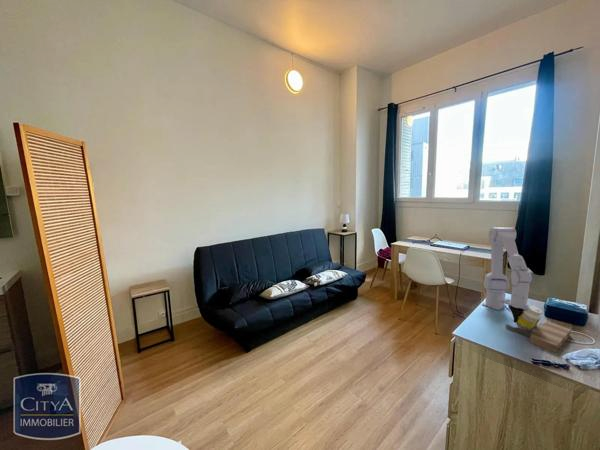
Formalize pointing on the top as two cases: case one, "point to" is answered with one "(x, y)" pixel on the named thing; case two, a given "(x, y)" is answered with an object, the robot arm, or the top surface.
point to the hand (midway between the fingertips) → (516, 321)
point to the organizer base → (546, 335)
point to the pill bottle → (529, 318)
